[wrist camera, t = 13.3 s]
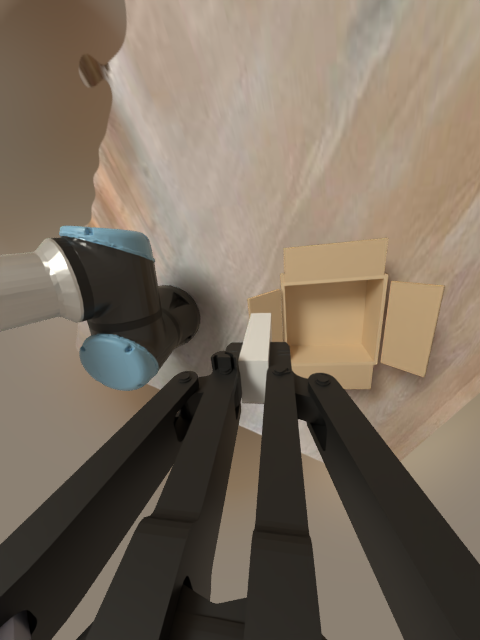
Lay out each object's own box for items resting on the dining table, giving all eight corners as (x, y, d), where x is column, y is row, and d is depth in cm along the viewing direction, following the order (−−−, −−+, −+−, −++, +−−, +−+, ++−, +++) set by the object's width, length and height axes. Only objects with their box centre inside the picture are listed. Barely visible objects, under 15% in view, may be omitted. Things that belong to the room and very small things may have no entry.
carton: (284, 368, 60) (286, 389, 52) (278, 244, 48) (279, 249, 41) (361, 367, 57) (374, 389, 49) (373, 234, 45) (393, 237, 38)
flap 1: (282, 363, 49) (255, 377, 46) (278, 289, 43) (247, 298, 40) (284, 364, 49) (257, 378, 45) (280, 289, 43) (249, 299, 39)
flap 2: (380, 362, 46) (424, 377, 41) (391, 281, 40) (443, 286, 35) (381, 361, 46) (425, 375, 41) (392, 280, 40) (445, 285, 35)
